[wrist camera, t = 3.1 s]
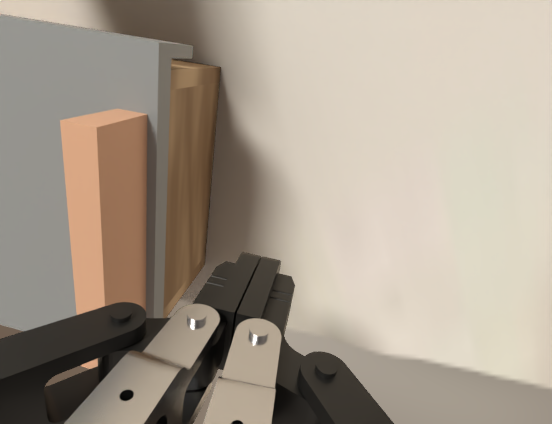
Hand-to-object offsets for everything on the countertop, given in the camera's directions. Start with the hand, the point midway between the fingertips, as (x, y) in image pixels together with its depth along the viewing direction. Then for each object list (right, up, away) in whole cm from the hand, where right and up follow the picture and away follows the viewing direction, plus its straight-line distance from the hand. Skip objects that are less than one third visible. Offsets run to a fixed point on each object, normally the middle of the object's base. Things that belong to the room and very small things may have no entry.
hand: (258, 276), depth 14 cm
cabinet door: (-13, +5, +5) cm, 15 cm away
